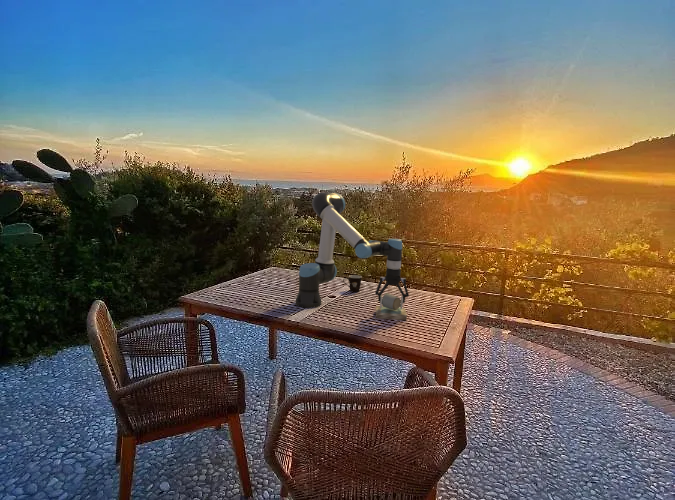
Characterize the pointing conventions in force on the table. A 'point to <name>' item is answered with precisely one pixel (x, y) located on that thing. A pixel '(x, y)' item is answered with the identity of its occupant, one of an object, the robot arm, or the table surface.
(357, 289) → the coffee mug
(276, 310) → the table surface
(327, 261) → the robot arm
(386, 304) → the ceramic mug
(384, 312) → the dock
